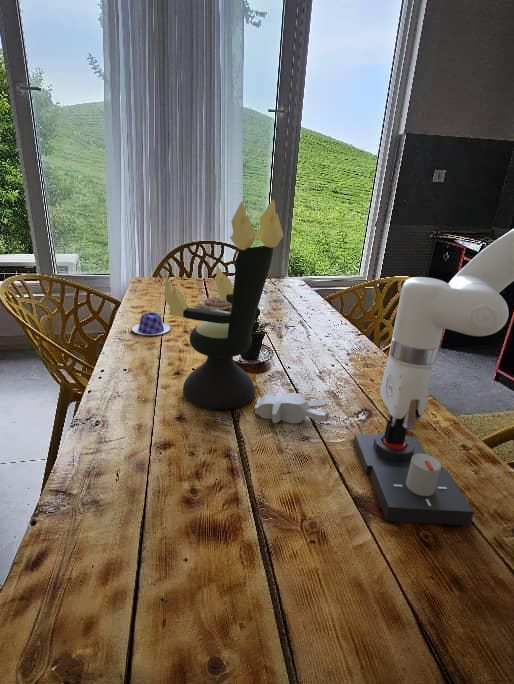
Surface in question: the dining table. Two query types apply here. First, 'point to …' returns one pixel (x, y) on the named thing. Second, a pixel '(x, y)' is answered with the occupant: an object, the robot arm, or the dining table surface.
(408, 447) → the switch block
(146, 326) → the pudding
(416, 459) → the dial
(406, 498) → the knob control plate
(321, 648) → the dining table surface
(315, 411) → the bunny figurine
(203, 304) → the decorative turtle
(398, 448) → the power button
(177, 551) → the dining table surface
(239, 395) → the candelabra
